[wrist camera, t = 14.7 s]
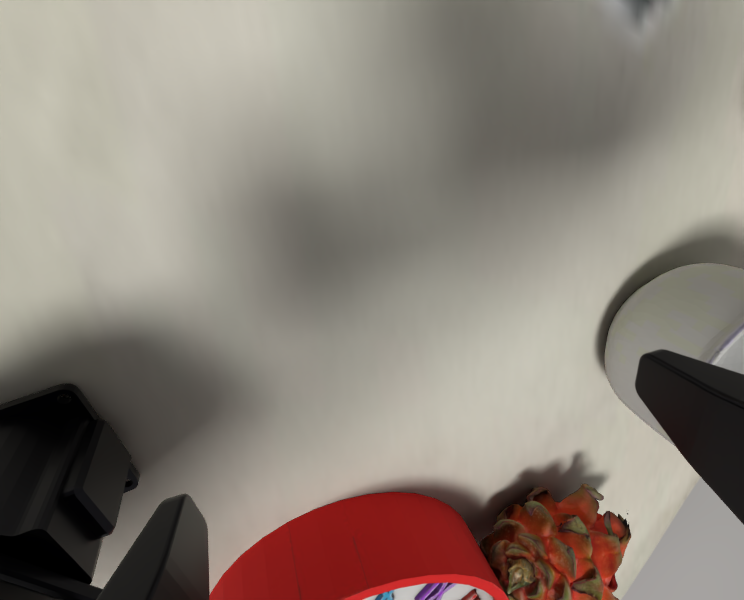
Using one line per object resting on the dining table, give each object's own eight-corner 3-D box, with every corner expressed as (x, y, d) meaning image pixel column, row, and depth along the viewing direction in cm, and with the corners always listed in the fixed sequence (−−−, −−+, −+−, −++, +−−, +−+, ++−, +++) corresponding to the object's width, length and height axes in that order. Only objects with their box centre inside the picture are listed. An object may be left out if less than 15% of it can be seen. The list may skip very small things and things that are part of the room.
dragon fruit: (439, 506, 33) (553, 454, 38) (470, 624, 32) (584, 555, 37) (512, 538, 25) (645, 468, 30) (557, 696, 24) (687, 596, 29)
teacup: (588, 413, 31) (693, 504, 24) (563, 298, 26) (690, 375, 19) (744, 317, 32) (887, 379, 25) (752, 186, 27) (938, 220, 20)
